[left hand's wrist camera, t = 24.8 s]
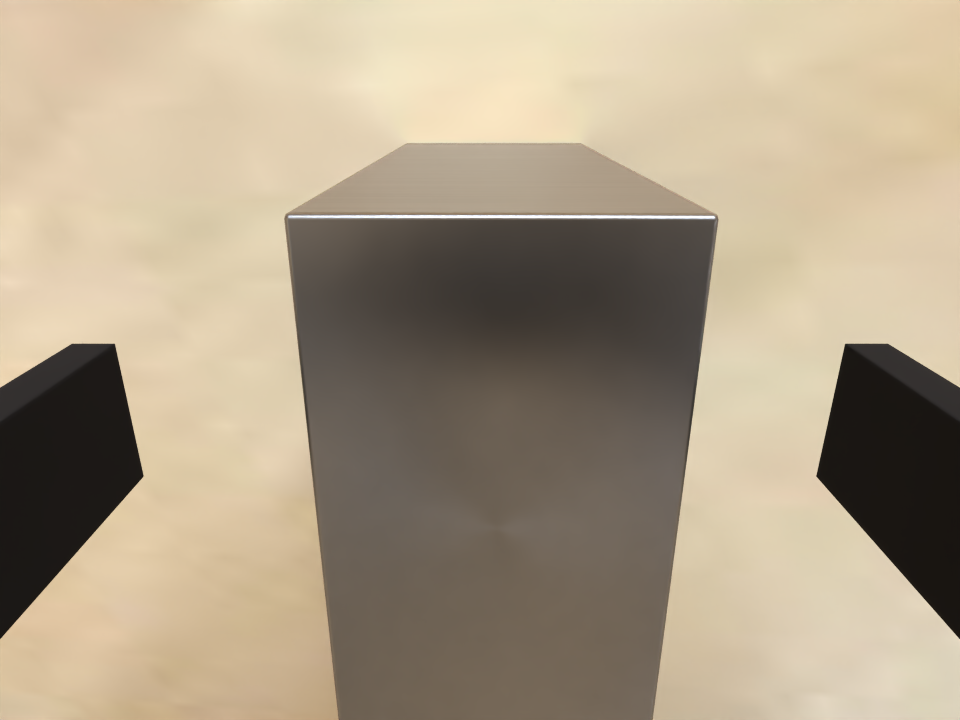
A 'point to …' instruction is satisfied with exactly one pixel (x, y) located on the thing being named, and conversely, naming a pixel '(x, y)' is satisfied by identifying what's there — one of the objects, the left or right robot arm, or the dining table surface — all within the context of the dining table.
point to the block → (498, 426)
